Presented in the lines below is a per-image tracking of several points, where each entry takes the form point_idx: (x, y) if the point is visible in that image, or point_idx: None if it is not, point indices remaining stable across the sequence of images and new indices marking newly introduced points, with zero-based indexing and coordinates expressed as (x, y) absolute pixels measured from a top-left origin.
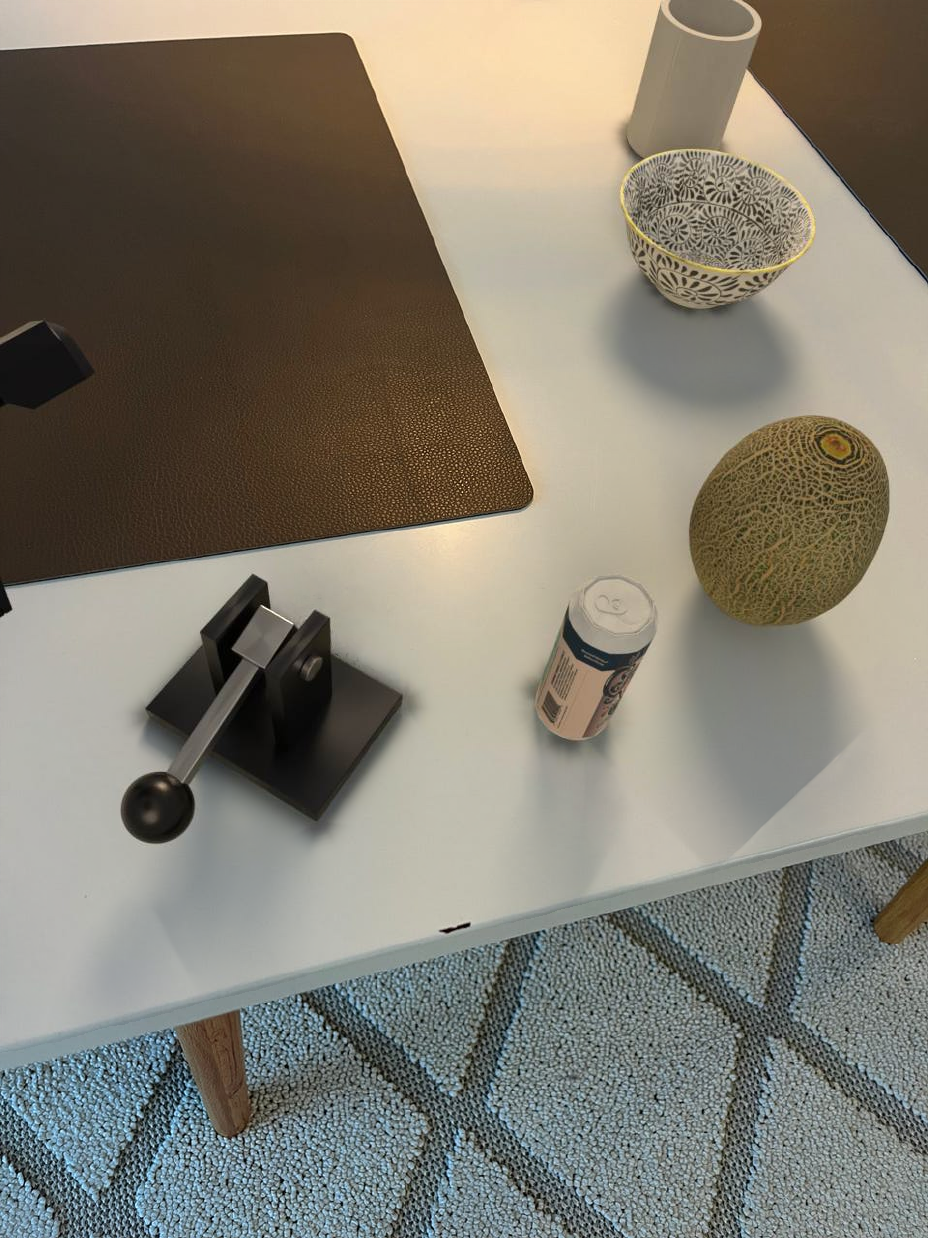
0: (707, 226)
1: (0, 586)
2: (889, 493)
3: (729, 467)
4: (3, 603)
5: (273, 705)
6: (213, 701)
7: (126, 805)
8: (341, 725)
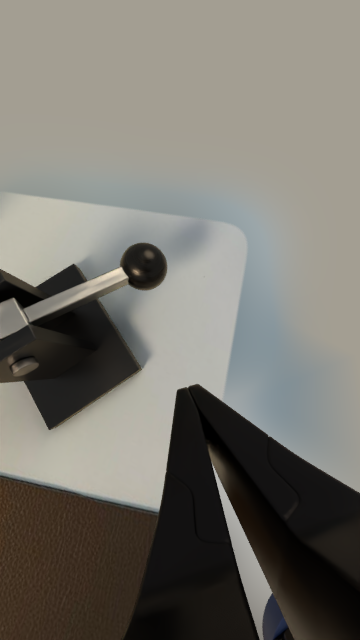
0: None
1: (178, 411)
2: None
3: None
4: (183, 393)
5: (40, 295)
6: (72, 303)
7: (159, 262)
8: None
